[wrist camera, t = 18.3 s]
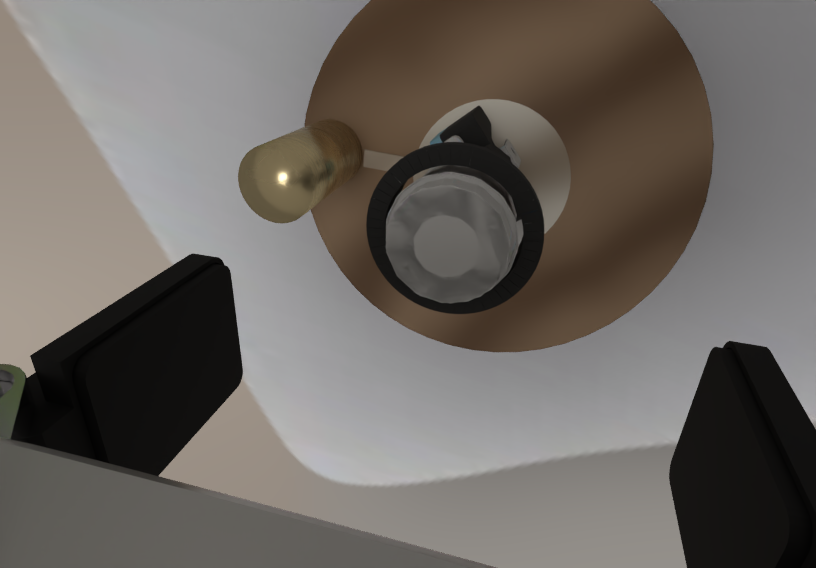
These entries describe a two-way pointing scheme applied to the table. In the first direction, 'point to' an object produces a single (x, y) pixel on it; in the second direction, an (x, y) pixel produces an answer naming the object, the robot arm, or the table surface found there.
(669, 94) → the turntable
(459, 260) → the push button
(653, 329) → the table surface
